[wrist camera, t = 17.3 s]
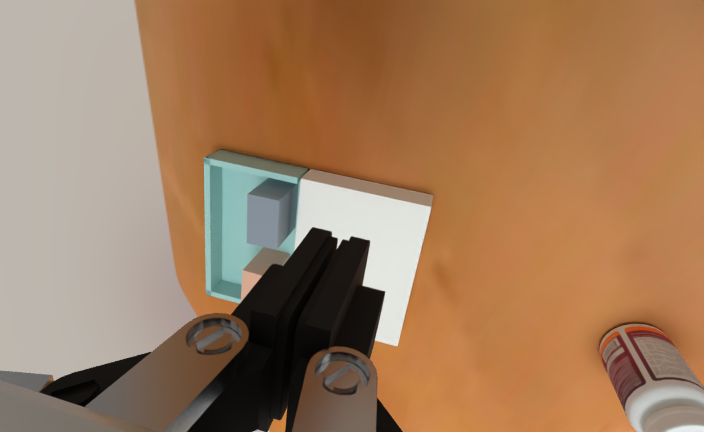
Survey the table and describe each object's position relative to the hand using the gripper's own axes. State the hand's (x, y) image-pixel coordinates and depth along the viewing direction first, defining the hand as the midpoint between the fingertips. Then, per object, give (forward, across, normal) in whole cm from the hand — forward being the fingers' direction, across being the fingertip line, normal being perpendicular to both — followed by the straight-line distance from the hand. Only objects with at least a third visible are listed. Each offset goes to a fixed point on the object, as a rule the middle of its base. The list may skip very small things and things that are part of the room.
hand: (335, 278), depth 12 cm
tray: (+27, +14, +15) cm, 34 cm away
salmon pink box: (+24, +10, +19) cm, 32 cm away
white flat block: (+27, +3, +15) cm, 31 cm away
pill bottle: (+27, -25, +18) cm, 41 cm away
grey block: (+24, +10, +11) cm, 28 cm away
